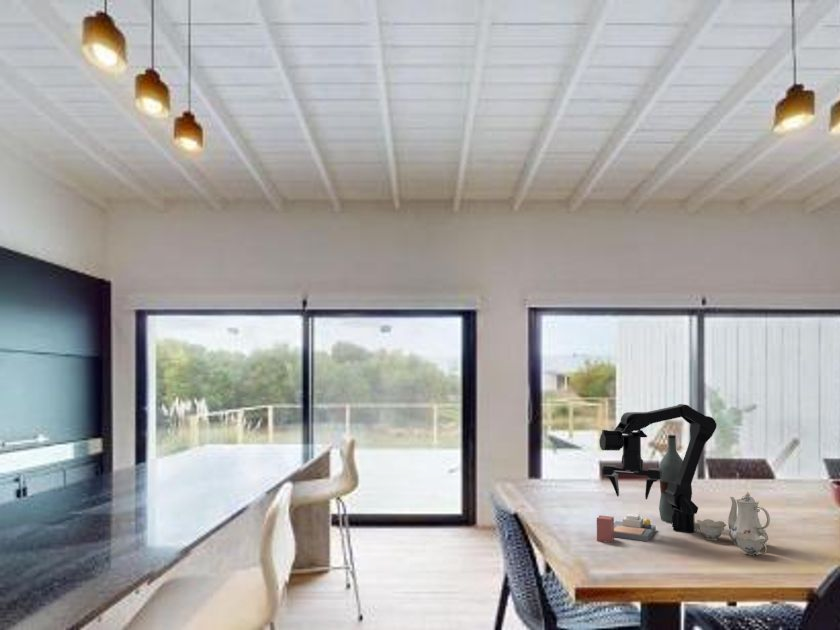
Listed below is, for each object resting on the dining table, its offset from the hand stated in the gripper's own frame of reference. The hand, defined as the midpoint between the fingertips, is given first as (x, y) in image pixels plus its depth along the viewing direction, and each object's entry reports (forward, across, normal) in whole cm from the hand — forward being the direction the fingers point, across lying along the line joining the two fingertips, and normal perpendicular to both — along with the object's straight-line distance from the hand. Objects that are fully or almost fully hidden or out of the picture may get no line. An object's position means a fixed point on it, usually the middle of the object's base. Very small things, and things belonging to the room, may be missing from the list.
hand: (632, 497), depth 230 cm
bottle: (+11, -10, -22) cm, 27 cm away
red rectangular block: (+11, +5, +16) cm, 20 cm away
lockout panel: (+11, 0, +3) cm, 11 cm away
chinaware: (+11, -33, +3) cm, 35 cm away
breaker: (+9, 0, 0) cm, 9 cm away
